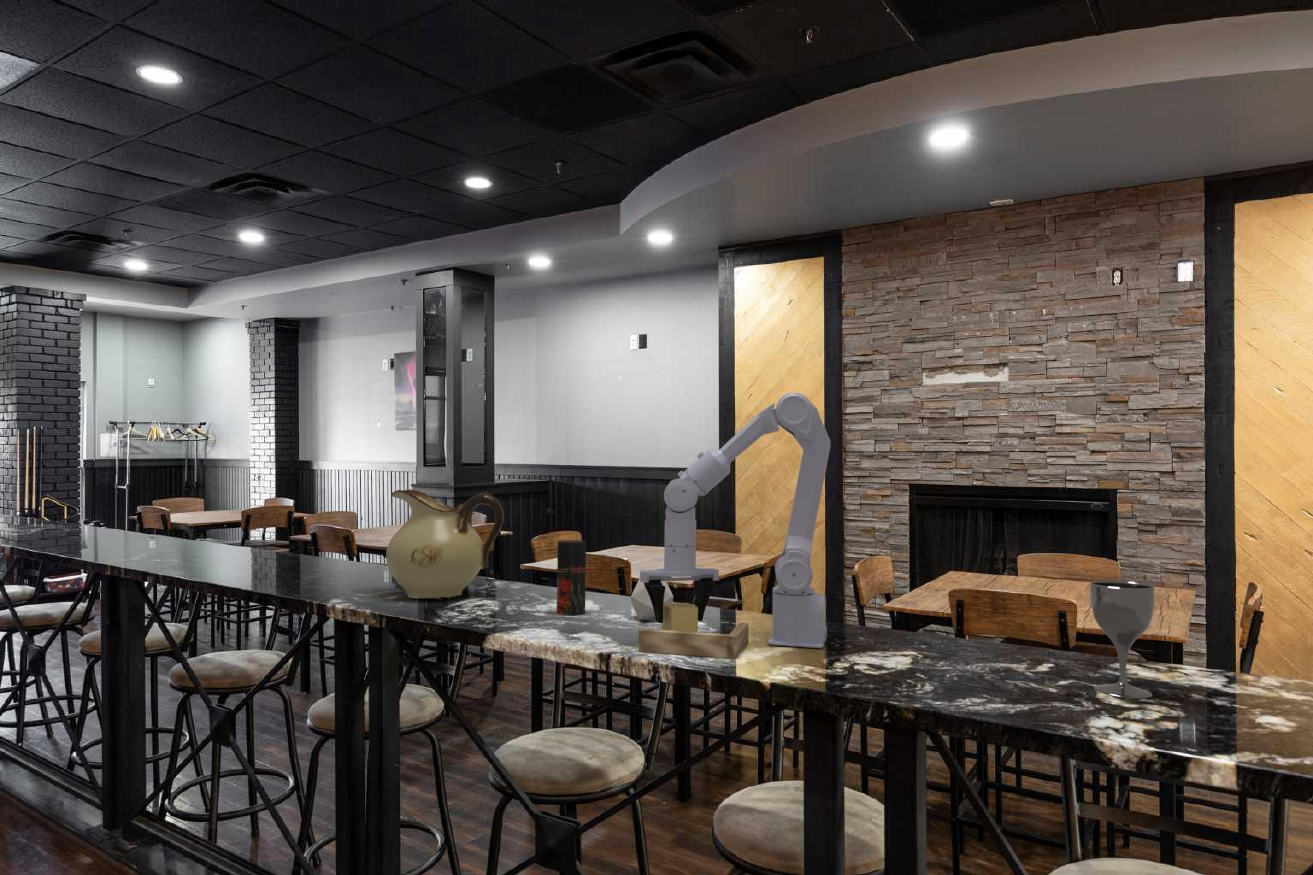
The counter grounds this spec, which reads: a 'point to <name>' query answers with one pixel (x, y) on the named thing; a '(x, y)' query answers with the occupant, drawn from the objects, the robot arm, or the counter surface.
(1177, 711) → the counter surface
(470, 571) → the pitcher
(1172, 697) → the counter surface
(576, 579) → the deodorant
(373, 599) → the counter surface
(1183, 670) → the counter surface
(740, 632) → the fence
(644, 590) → the die
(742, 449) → the robot arm
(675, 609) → the block
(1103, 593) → the wine glass
